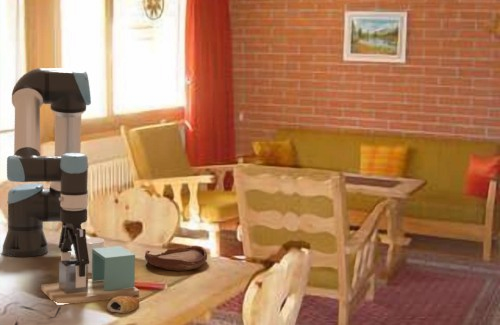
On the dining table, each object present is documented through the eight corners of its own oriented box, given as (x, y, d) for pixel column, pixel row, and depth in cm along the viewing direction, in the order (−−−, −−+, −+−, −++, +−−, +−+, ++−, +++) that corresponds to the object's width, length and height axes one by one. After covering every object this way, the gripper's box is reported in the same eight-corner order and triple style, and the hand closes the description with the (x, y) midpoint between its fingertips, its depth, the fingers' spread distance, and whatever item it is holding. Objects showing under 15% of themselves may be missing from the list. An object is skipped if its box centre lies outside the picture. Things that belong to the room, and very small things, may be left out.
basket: (172, 253, 273) (172, 239, 272) (220, 262, 263) (220, 248, 262) (132, 266, 253) (133, 252, 252) (182, 277, 243) (183, 261, 243)
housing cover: (91, 280, 229) (92, 248, 227) (120, 277, 233) (120, 245, 232) (105, 290, 219) (105, 257, 218) (134, 287, 224) (135, 254, 222)
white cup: (98, 274, 241) (98, 243, 240) (74, 272, 243) (74, 241, 241) (107, 268, 249) (108, 238, 247) (84, 266, 250) (85, 236, 249)
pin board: (41, 289, 224) (41, 274, 223) (118, 280, 236) (119, 266, 235) (57, 305, 210) (57, 289, 209) (138, 295, 222) (139, 280, 222)
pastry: (126, 302, 216) (126, 289, 216) (145, 306, 213) (146, 293, 212) (104, 311, 208) (105, 297, 207) (124, 316, 205) (125, 302, 204)
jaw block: (59, 287, 221) (59, 260, 220) (80, 285, 224) (80, 258, 223) (65, 294, 216) (66, 266, 215) (87, 291, 219) (88, 264, 218)
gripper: (48, 200, 226) (47, 270, 229) (74, 218, 205) (74, 294, 208) (73, 199, 230) (72, 267, 233) (101, 215, 208) (100, 291, 211)
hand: (73, 280), depth 220 cm, fingers open, 13 cm apart
